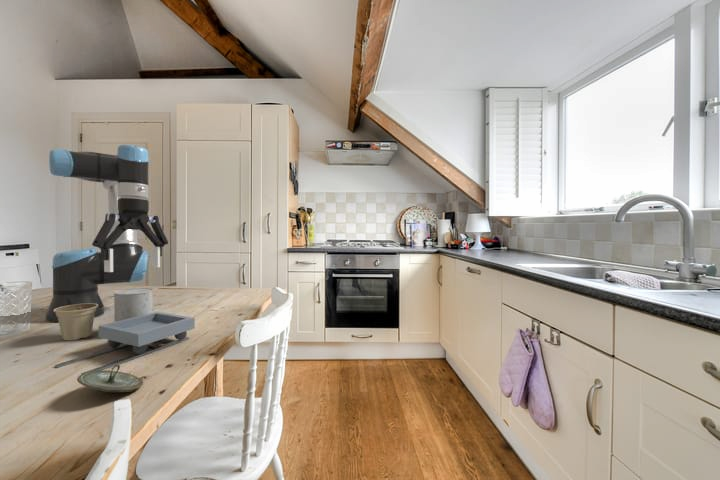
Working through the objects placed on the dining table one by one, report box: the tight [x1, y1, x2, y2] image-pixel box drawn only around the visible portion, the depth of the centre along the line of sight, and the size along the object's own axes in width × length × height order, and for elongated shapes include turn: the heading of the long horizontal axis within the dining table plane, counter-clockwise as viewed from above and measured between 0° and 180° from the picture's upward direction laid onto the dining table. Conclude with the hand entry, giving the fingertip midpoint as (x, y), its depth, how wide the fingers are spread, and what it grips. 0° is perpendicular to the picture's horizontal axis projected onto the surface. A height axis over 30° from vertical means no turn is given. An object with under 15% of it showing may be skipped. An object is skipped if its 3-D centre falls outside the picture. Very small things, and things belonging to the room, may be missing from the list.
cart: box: [98, 311, 196, 354], centre depth 84 cm, size 15×15×6 cm
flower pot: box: [53, 303, 98, 341], centre depth 89 cm, size 9×9×9 cm
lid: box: [76, 363, 144, 393], centre depth 60 cm, size 11×10×5 cm
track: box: [54, 336, 190, 375], centre depth 80 cm, size 11×25×1 cm, turn 158°
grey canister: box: [113, 287, 154, 322], centre depth 95 cm, size 10×10×12 cm
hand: (133, 269), depth 94 cm, fingers open, 13 cm apart
